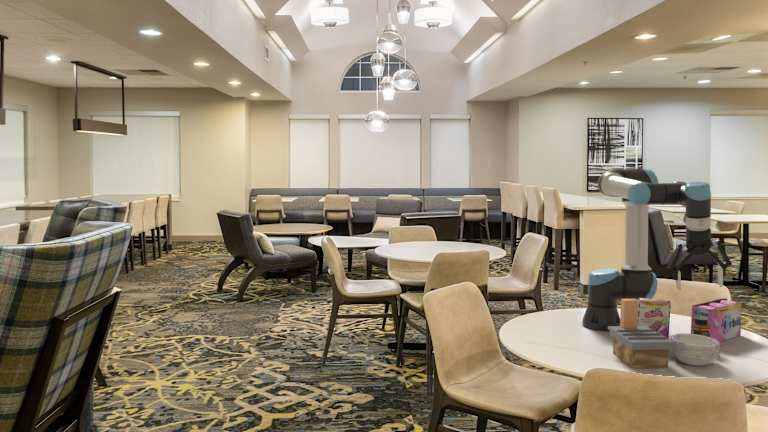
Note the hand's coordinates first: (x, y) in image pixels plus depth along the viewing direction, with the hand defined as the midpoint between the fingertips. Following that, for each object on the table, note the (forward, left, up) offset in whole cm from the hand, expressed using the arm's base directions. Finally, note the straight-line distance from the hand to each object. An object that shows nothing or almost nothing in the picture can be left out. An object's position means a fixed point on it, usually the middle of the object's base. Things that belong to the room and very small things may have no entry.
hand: (699, 286), depth 221 cm
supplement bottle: (-10, +7, -25) cm, 28 cm away
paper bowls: (+4, -3, -25) cm, 26 cm away
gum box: (-24, +21, -25) cm, 40 cm away
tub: (+2, -21, -25) cm, 33 cm away
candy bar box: (-18, -7, -25) cm, 32 cm away
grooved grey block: (+1, -21, -18) cm, 28 cm away
